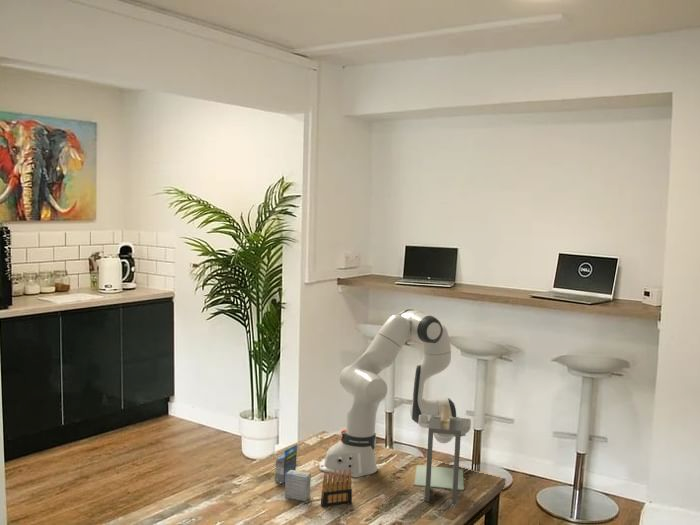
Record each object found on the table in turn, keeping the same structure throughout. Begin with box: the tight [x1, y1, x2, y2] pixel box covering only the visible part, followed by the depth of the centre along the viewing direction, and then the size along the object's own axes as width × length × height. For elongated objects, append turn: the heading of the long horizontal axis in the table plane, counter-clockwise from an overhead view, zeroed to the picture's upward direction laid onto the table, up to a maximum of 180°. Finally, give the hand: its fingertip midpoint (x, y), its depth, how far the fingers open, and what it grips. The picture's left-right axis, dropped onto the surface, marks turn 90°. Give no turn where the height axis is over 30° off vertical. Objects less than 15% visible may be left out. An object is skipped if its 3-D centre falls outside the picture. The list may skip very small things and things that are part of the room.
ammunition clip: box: [320, 469, 353, 508], centre depth 231 cm, size 11×2×12 cm, turn 112°
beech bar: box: [440, 405, 450, 430], centre depth 244 cm, size 3×20×3 cm, turn 171°
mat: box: [413, 464, 465, 491], centre depth 259 cm, size 18×20×1 cm
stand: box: [424, 418, 462, 505], centre depth 241 cm, size 11×12×26 cm
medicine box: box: [284, 469, 312, 502], centre depth 235 cm, size 8×4×9 cm, turn 71°
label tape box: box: [274, 444, 298, 484], centre depth 251 cm, size 9×4×12 cm, turn 154°
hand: (444, 417), depth 260 cm, fingers open, 8 cm apart
